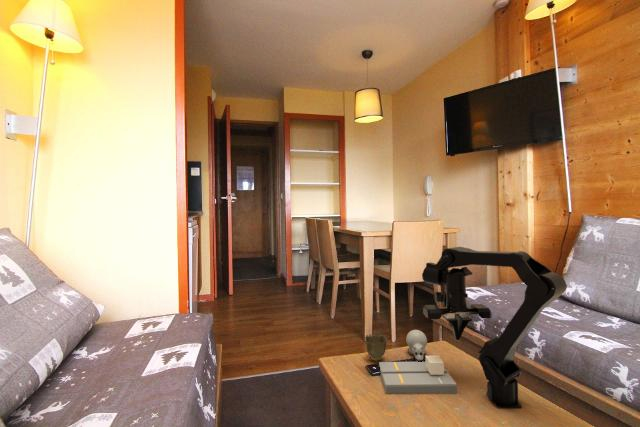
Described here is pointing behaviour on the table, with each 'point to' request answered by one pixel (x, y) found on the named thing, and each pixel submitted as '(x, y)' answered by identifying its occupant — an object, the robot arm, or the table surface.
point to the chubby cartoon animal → (417, 343)
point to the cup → (375, 346)
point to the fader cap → (434, 365)
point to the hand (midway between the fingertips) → (457, 339)
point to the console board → (414, 379)
